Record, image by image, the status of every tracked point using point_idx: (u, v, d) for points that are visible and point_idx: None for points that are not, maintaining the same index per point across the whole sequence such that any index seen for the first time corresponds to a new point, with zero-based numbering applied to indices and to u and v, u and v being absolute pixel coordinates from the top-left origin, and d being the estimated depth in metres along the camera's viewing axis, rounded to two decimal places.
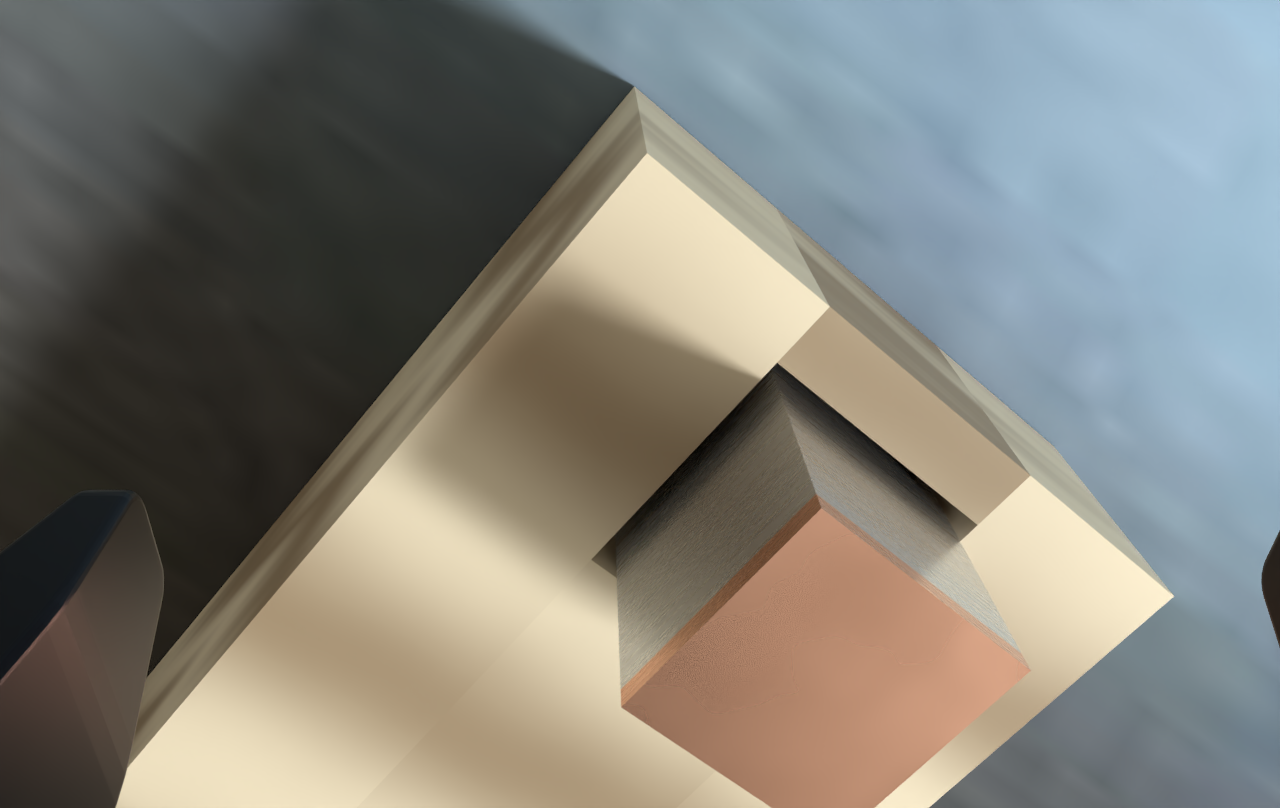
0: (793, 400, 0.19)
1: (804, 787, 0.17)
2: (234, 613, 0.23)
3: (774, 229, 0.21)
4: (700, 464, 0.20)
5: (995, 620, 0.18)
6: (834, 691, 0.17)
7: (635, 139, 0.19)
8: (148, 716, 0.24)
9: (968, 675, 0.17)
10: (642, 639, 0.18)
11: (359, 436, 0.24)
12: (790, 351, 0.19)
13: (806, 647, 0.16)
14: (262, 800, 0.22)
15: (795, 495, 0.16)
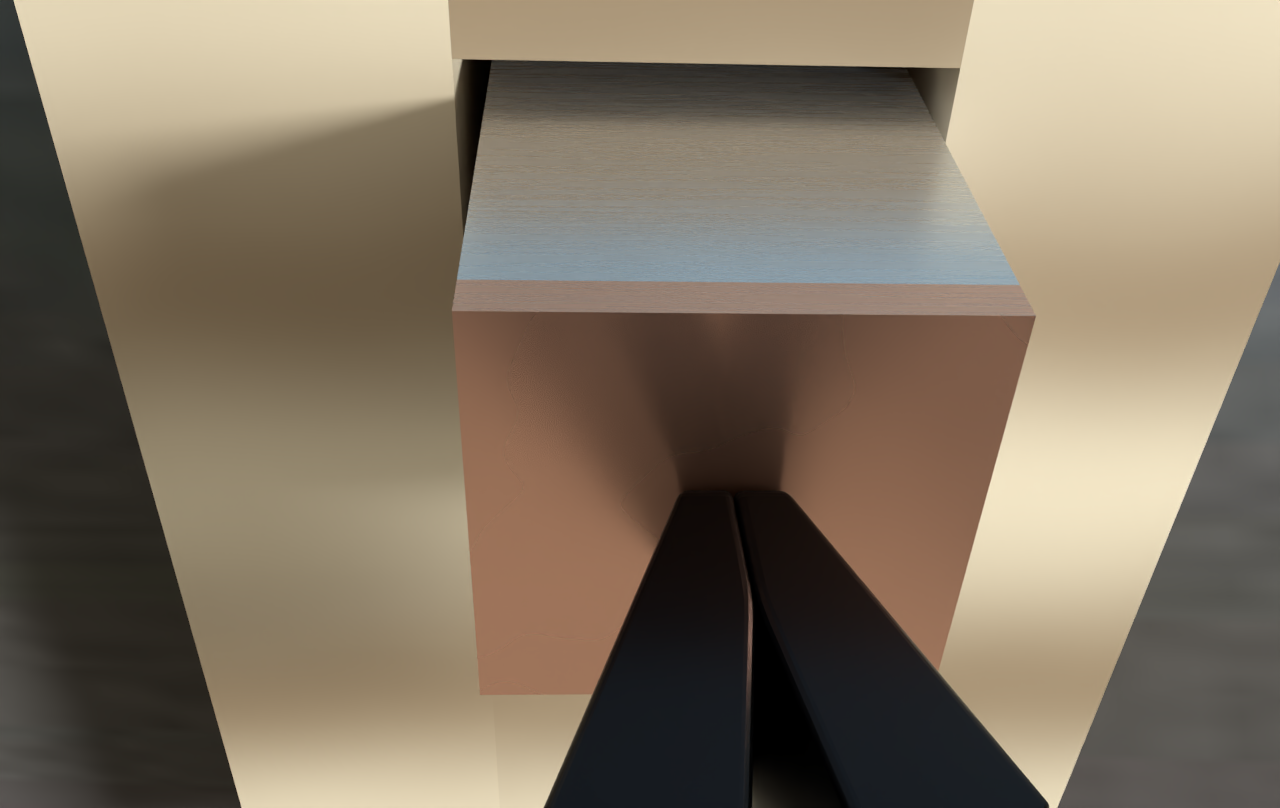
0: (525, 76, 0.11)
1: None
2: None
3: None
4: None
5: (960, 245, 0.09)
6: None
7: None
8: None
9: (931, 385, 0.09)
10: None
11: None
12: (453, 29, 0.11)
13: (638, 496, 0.09)
14: None
15: None
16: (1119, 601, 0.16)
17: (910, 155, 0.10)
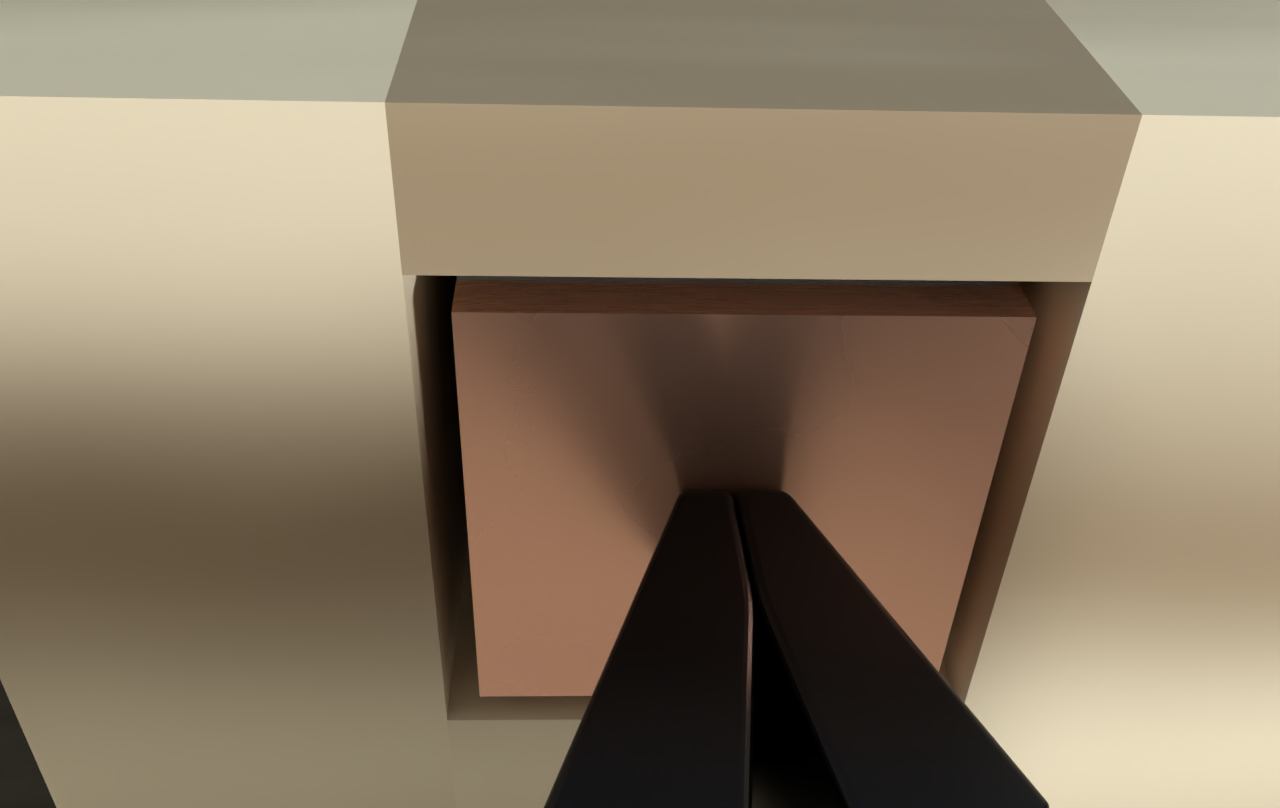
0: None
1: None
2: None
3: None
4: None
5: None
6: None
7: None
8: None
9: (932, 386, 0.09)
10: None
11: None
12: (403, 239, 0.08)
13: (638, 498, 0.09)
14: None
15: None
16: None
17: None
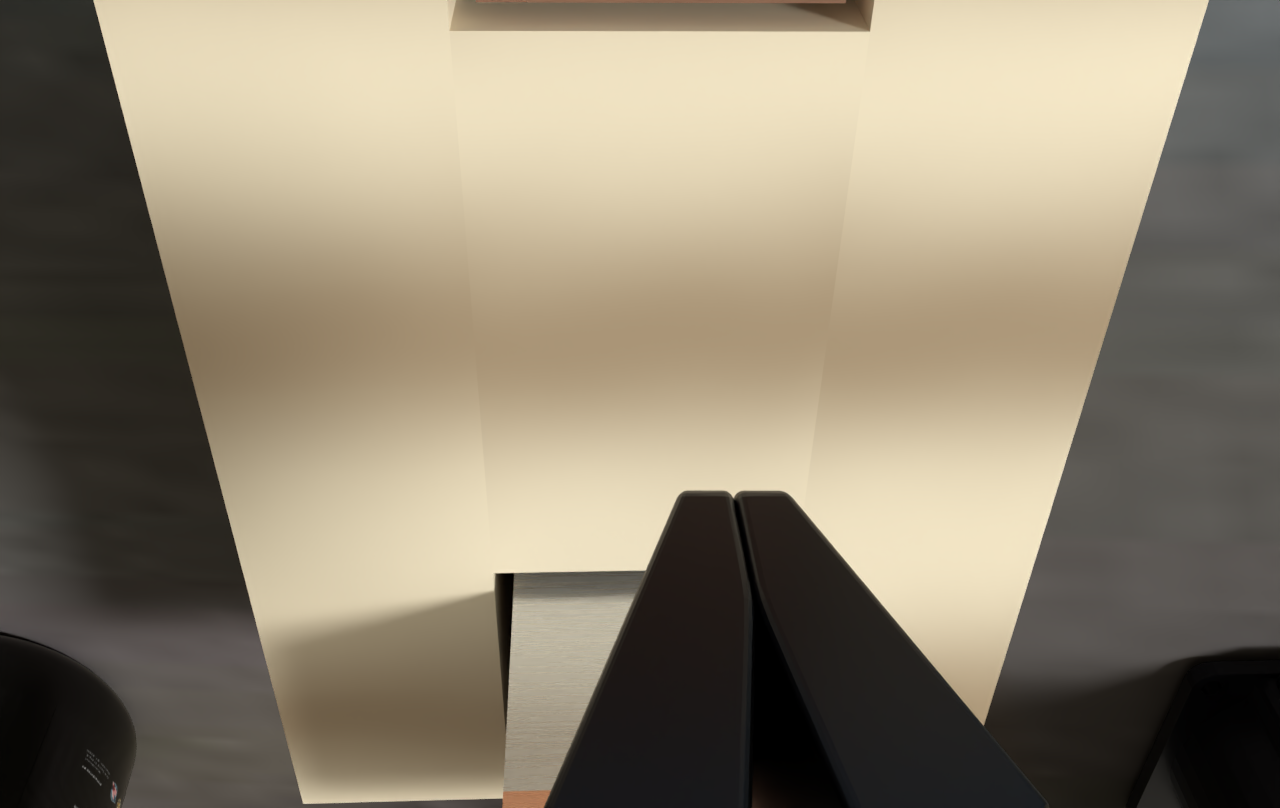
0: None
1: None
2: None
3: None
4: None
5: None
6: None
7: None
8: None
9: None
10: None
11: None
12: None
13: None
14: (391, 540, 0.18)
15: None
16: (1117, 221, 0.15)
17: None
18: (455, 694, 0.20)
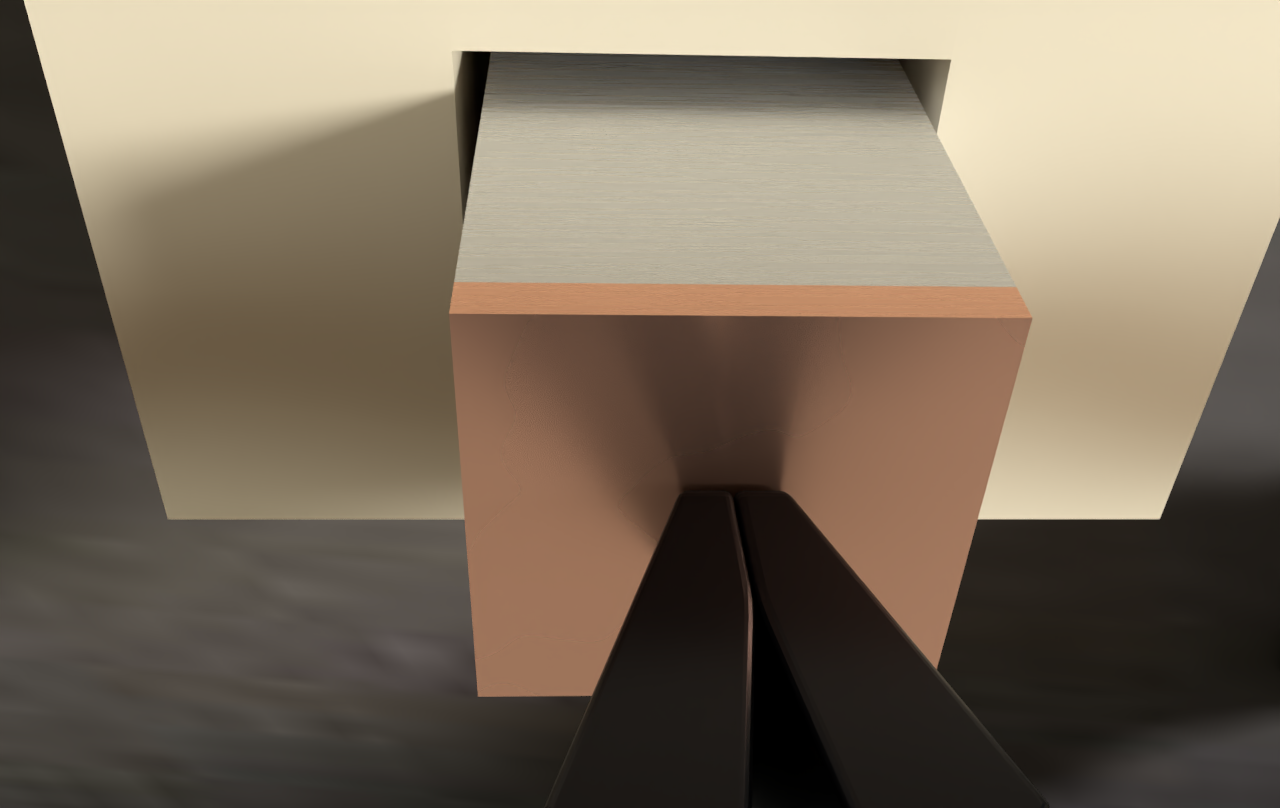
0: None
1: None
2: None
3: None
4: None
5: None
6: None
7: None
8: None
9: None
10: None
11: None
12: None
13: None
14: None
15: None
16: None
17: None
18: (394, 311, 0.13)
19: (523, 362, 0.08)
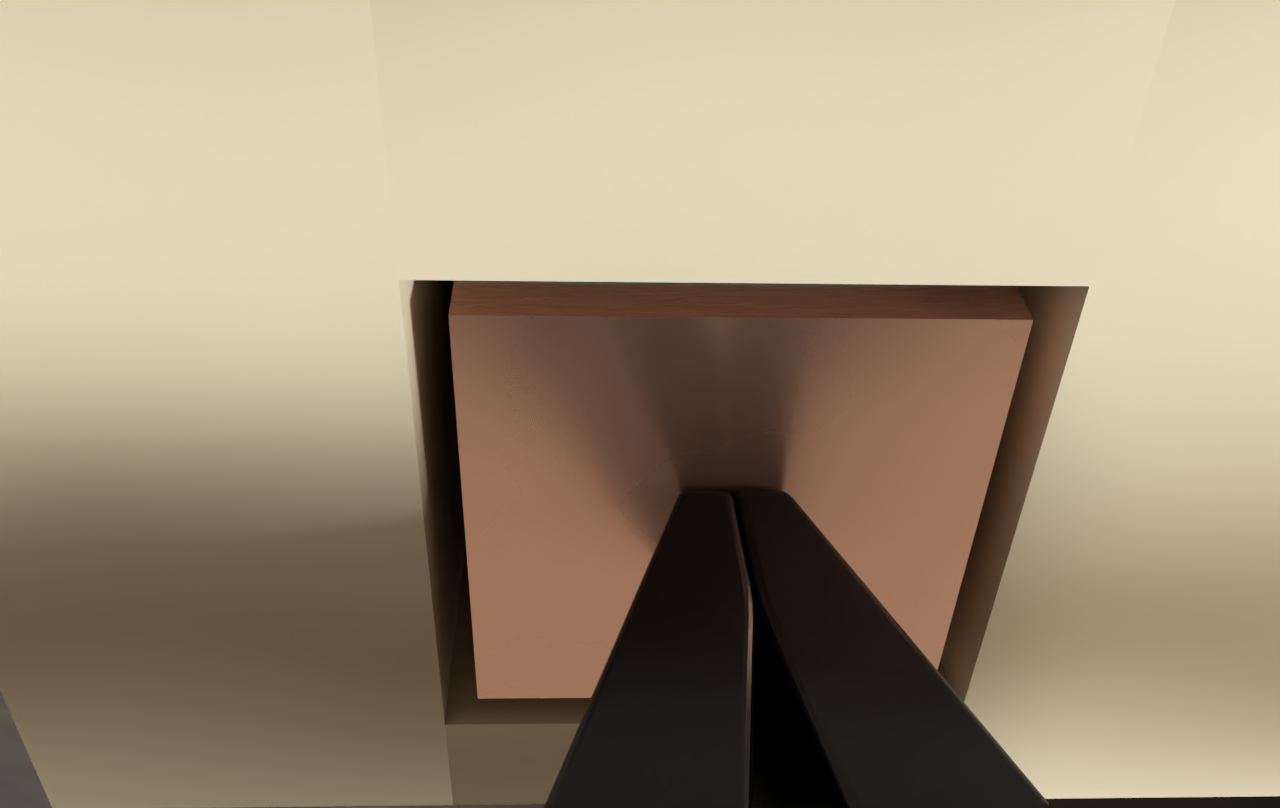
0: None
1: None
2: None
3: None
4: None
5: None
6: None
7: None
8: None
9: None
10: None
11: None
12: None
13: None
14: (152, 175, 0.07)
15: None
16: None
17: None
18: (333, 584, 0.10)
19: (523, 362, 0.08)
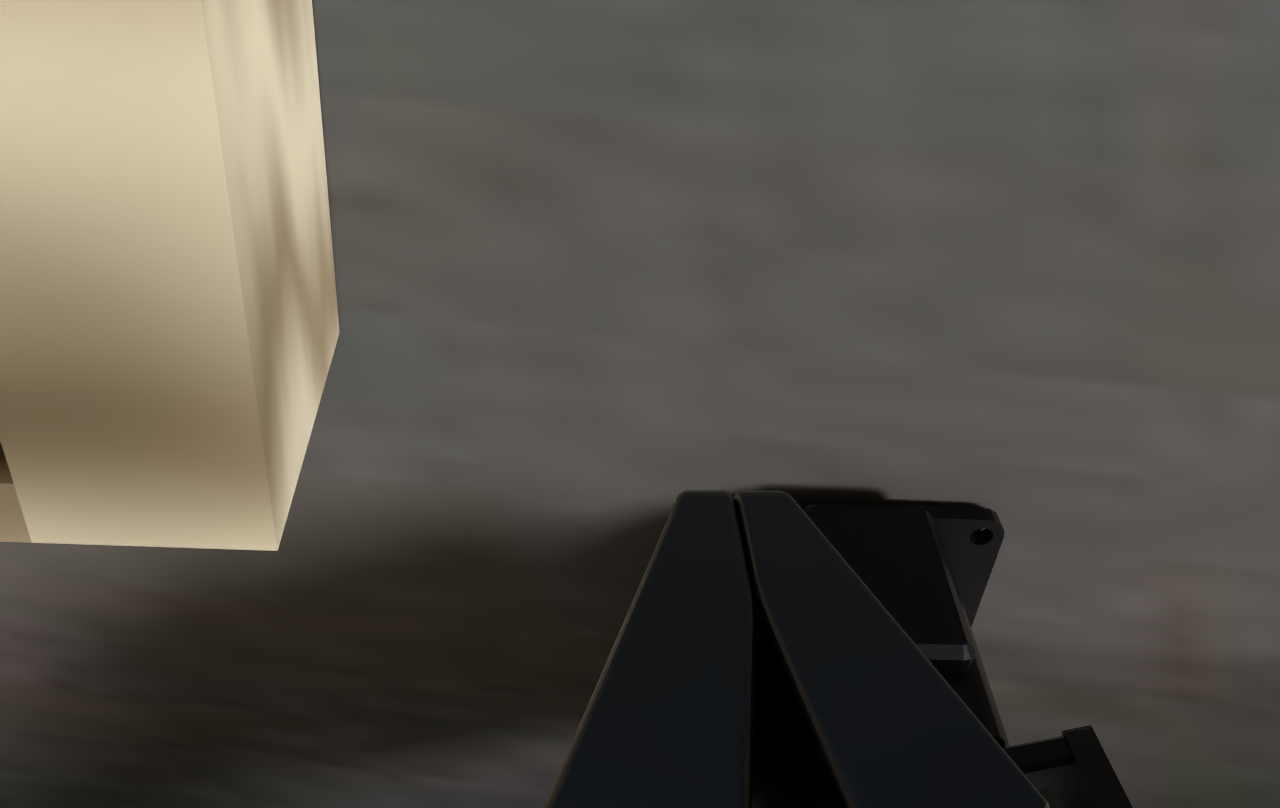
0: None
1: None
2: None
3: None
4: None
5: None
6: None
7: None
8: None
9: None
10: None
11: None
12: None
13: None
14: None
15: None
16: None
17: None
18: None
19: None
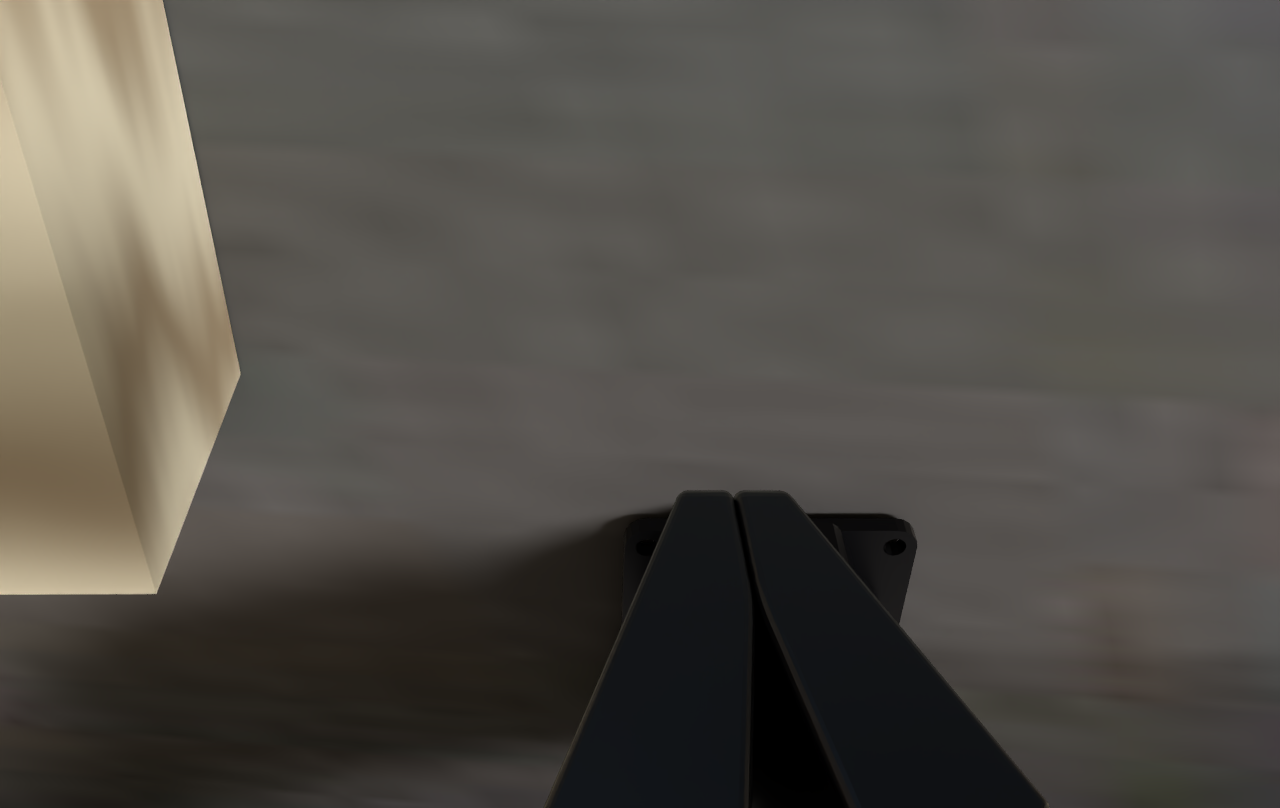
0: None
1: None
2: None
3: None
4: None
5: None
6: None
7: None
8: None
9: None
10: None
11: None
12: None
13: None
14: None
15: None
16: None
17: None
18: None
19: None
